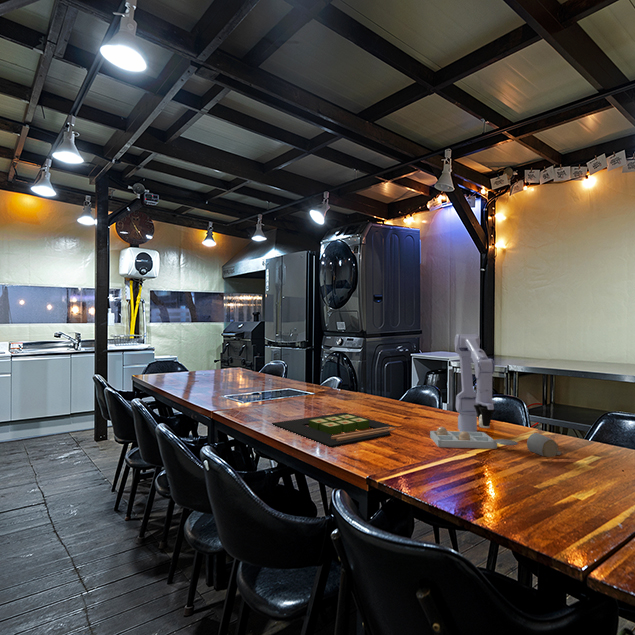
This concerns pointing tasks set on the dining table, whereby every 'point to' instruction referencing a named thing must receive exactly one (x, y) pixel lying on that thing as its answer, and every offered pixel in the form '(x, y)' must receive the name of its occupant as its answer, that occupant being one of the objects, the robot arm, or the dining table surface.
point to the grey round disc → (506, 442)
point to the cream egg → (482, 423)
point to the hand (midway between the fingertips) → (484, 424)
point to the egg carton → (453, 440)
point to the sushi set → (337, 428)
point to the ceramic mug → (542, 445)
